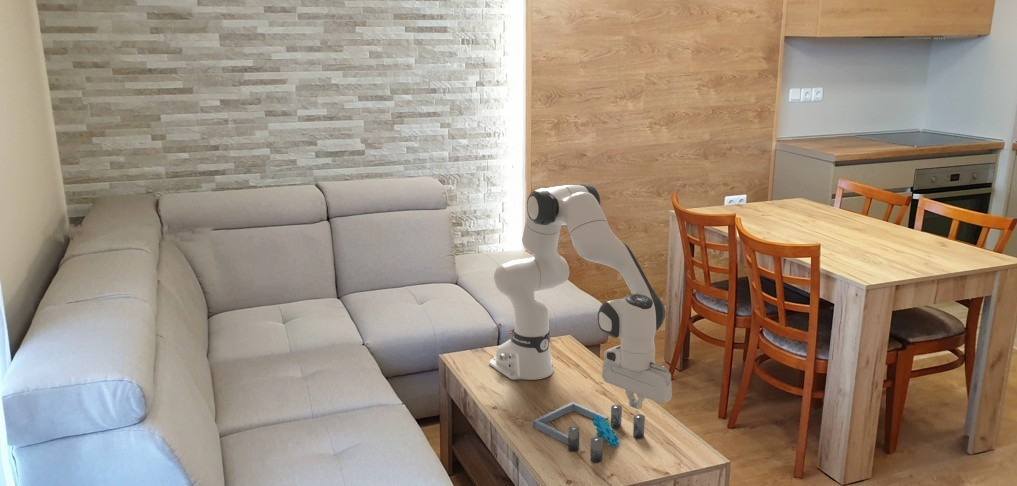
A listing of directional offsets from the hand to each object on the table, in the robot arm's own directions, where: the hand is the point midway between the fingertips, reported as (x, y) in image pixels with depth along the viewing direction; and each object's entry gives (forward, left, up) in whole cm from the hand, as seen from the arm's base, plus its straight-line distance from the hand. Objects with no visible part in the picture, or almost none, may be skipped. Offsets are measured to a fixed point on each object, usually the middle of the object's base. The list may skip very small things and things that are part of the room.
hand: (635, 407), depth 203 cm
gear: (-10, 0, -14) cm, 17 cm away
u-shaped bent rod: (-22, 0, -14) cm, 26 cm away
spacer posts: (-9, 0, -14) cm, 17 cm away
